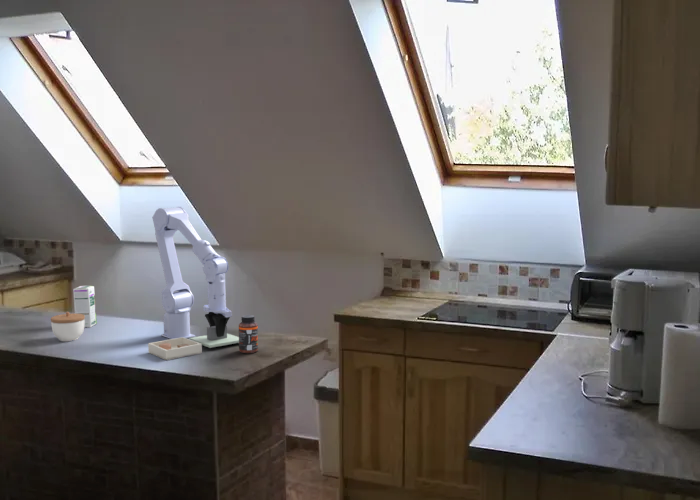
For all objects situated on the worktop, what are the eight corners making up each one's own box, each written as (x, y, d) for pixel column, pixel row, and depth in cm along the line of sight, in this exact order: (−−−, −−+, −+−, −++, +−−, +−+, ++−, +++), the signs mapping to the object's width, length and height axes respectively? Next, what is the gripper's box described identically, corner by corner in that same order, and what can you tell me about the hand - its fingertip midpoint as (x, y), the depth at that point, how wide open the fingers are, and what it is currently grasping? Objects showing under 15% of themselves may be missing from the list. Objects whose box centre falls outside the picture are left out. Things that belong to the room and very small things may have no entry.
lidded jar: (58, 344, 236) (57, 316, 235) (47, 339, 244) (45, 311, 243) (90, 339, 243) (89, 312, 242) (78, 333, 251) (77, 307, 250)
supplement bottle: (254, 354, 222) (253, 318, 221) (236, 353, 223) (235, 317, 222) (260, 349, 228) (260, 314, 226) (242, 348, 229) (242, 313, 228)
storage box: (148, 352, 225) (148, 343, 224) (183, 346, 233) (182, 337, 232) (166, 360, 216) (166, 350, 216) (201, 353, 224) (201, 343, 223)
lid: (189, 340, 236) (189, 326, 235) (223, 334, 244) (223, 320, 244) (209, 347, 226) (209, 332, 225) (244, 341, 234) (244, 327, 234)
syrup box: (91, 327, 260) (89, 288, 258) (75, 327, 260) (72, 288, 258) (97, 324, 266) (95, 285, 264) (81, 324, 266) (79, 285, 264)
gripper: (194, 293, 236) (196, 333, 238) (217, 299, 225) (218, 341, 227) (213, 290, 241) (214, 330, 243) (236, 296, 230) (237, 337, 232)
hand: (218, 335), depth 235 cm, fingers closed on lid, 2 cm apart
